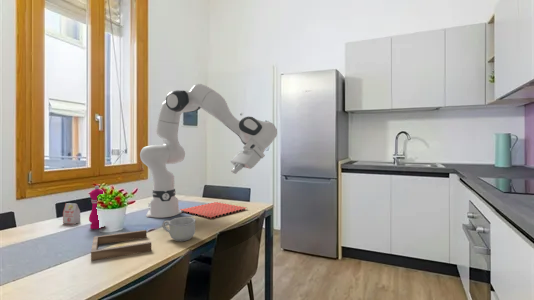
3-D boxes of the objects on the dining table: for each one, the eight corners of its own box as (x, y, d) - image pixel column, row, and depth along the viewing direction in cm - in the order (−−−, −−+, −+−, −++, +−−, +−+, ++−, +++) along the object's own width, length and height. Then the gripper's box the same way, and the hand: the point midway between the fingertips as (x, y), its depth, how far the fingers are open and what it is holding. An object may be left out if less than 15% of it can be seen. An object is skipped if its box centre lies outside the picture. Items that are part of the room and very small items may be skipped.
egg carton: (216, 204, 196) (216, 201, 196) (247, 210, 179) (247, 207, 178) (179, 213, 175) (179, 209, 175) (210, 220, 157) (210, 216, 157)
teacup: (200, 236, 129) (200, 218, 129) (185, 244, 119) (185, 224, 119) (173, 233, 134) (173, 215, 134) (156, 241, 124) (156, 221, 123)
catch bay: (93, 244, 120) (93, 236, 120) (146, 236, 129) (146, 229, 129) (91, 260, 104) (90, 252, 103) (151, 250, 112) (151, 242, 112)
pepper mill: (98, 229, 140) (97, 187, 139) (85, 229, 141) (84, 186, 141) (109, 225, 147) (109, 184, 146) (97, 224, 148) (96, 184, 148)
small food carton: (69, 221, 155) (68, 202, 154) (80, 222, 153) (79, 203, 153) (63, 223, 151) (62, 204, 151) (74, 224, 149) (73, 204, 149)
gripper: (239, 145, 149) (221, 166, 145) (257, 146, 131) (236, 169, 127) (248, 154, 151) (229, 175, 147) (266, 156, 133) (246, 179, 129)
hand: (233, 172), depth 137 cm, fingers closed
